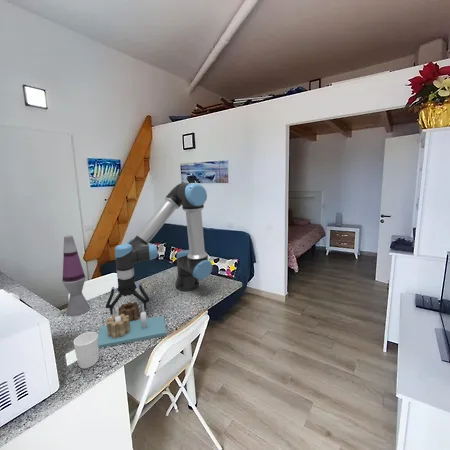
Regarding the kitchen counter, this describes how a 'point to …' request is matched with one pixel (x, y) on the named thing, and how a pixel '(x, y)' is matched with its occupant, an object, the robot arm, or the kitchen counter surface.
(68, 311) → the lamp
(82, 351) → the white cup
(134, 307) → the walnut gear
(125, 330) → the maple gear
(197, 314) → the kitchen counter surface
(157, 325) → the gear board
